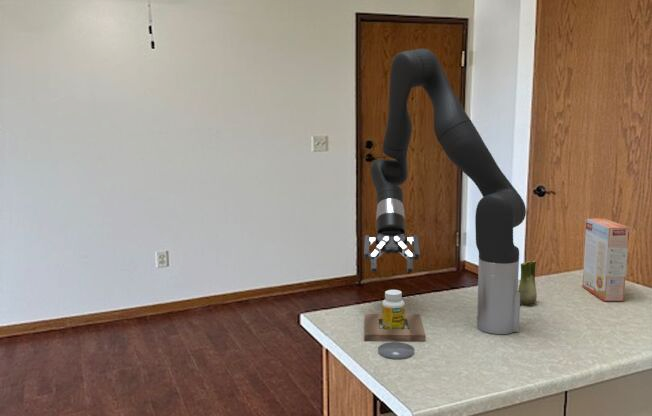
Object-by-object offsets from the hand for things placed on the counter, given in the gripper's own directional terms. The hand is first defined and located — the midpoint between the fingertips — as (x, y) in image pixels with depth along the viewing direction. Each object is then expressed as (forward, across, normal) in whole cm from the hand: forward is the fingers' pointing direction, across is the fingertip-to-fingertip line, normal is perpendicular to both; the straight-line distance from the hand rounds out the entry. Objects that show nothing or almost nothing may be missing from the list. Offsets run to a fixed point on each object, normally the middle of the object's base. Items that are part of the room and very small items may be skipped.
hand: (392, 272), depth 146 cm
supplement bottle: (+14, 0, +3) cm, 15 cm away
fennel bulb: (0, +37, +18) cm, 41 cm away
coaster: (+23, 0, -6) cm, 24 cm away
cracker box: (-6, +60, +24) cm, 65 cm away
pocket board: (+14, 0, +3) cm, 15 cm away
